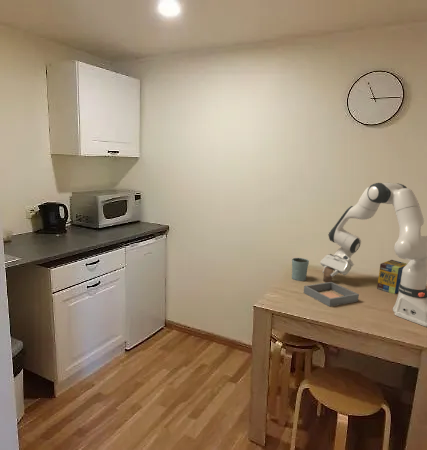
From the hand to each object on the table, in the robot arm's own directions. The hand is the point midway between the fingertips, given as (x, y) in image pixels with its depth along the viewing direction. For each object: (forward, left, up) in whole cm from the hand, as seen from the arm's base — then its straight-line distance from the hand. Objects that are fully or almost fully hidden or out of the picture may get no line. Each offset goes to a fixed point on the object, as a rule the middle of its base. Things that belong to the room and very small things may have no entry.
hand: (327, 274), depth 222 cm
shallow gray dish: (-20, +16, -4) cm, 26 cm away
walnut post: (0, -1, -4) cm, 4 cm away
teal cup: (+10, +13, -5) cm, 17 cm away
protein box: (-23, -29, -5) cm, 37 cm away
